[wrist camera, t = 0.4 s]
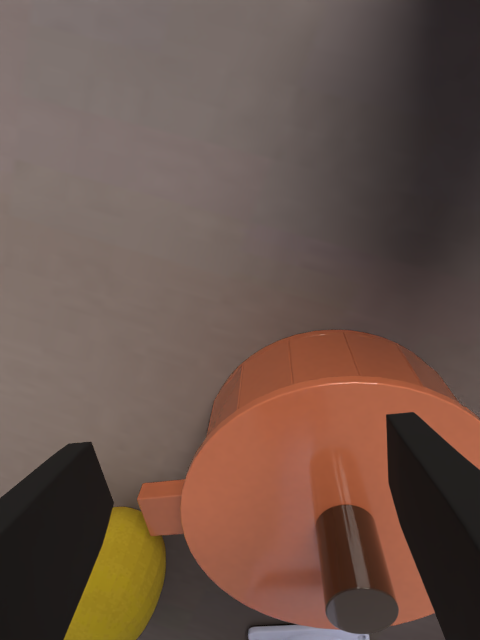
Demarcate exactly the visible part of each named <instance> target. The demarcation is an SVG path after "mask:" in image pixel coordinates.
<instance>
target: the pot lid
mask: <svg viewBox="0 0 480 640" xmlns="http://www.w3.org/2000/svg"><path fill="white" fill-rule="evenodd" d="M408 412H414V413H415V414H417V415H418V416H419V417H420V418H421V419H422V420H424V421H425V422H426V423H427V424H428V425H429V426H430V427H431V428H432V429H433V430H434V431H436V432H437V433H438V434H439V435H440V436H441V437H442V438H443V439H444V440H446V441H447V442H448V443H449V444H450V445H451V446H452V447H453V448H455V449H456V450H457V451H458V452H459V453H460V454H461V455H463V456H464V457H465V458H466V459H467V460H468V461H470V462H471V463H472V464H473V465H474V466H476V467H477V468H478V469H479V470H480V418H479V417H478V416H476V415H475V414H474V413H473V412H471V411H470V410H469V409H468V408H466V407H464V406H463V405H461V404H459V403H458V402H456V401H454V400H453V399H451V398H449V397H447V396H445V395H443V394H440V393H438V392H436V391H433V390H431V389H428V388H426V387H423V386H419V385H416V384H412V383H409V382H405V381H401V380H395V379H389V378H382V377H373V376H337V377H325V378H319V379H314V380H308V381H303V382H299V383H296V384H292V385H289V386H286V387H282V388H279V389H276V390H274V391H272V392H269V393H267V394H265V395H262V396H260V397H258V398H256V399H254V400H253V401H251V402H249V403H247V404H246V405H244V406H242V407H241V408H239V409H237V410H236V411H235V412H233V413H232V414H231V415H230V416H228V417H227V418H226V419H224V420H223V421H222V422H221V423H220V424H219V425H218V426H217V427H216V428H215V429H214V430H213V431H212V432H211V433H210V434H209V435H208V436H207V437H206V439H205V440H204V442H203V443H202V444H201V446H200V447H199V449H198V450H197V451H196V453H195V455H194V457H193V459H192V461H191V463H190V465H189V467H188V471H187V474H186V477H185V481H184V484H183V488H182V494H181V503H180V512H181V524H182V528H183V532H184V536H185V539H186V542H187V544H188V546H189V549H190V551H191V553H192V555H193V556H194V558H195V560H196V561H197V563H198V564H199V566H200V567H201V568H202V570H203V571H204V572H205V573H206V574H207V576H208V577H209V578H210V579H211V580H212V581H213V582H214V583H215V584H217V585H218V586H219V587H220V588H221V589H222V590H223V591H225V592H226V593H227V594H229V595H230V596H232V597H233V598H234V599H236V600H238V601H239V602H241V603H243V604H244V605H246V606H248V607H250V608H252V609H254V610H256V611H258V612H261V613H263V614H265V615H268V616H270V617H273V618H276V619H279V620H282V621H286V622H290V623H294V624H298V625H302V626H308V627H314V628H321V629H334V630H342V631H345V632H348V633H353V634H371V633H376V632H379V631H382V630H384V629H386V628H388V627H389V626H393V625H398V624H402V623H406V622H410V621H414V620H417V619H420V618H422V617H425V616H428V615H431V614H434V613H435V612H434V609H433V607H432V604H431V602H430V599H429V597H428V594H427V592H426V589H425V587H424V584H423V582H422V579H421V577H420V574H419V572H418V569H417V567H416V564H415V562H414V559H413V557H412V554H411V552H410V549H409V547H408V544H407V542H406V539H405V537H404V534H403V531H402V529H401V526H400V523H399V519H398V516H397V512H396V509H395V505H394V502H393V498H392V494H391V491H390V487H389V483H388V458H387V429H386V414H397V413H408Z"/></svg>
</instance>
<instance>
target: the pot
mask: <svg viewBox="0 0 480 640" xmlns="http://www.w3.org/2000/svg"><path fill="white" fill-rule="evenodd" d="M337 376H373V377H382V378H389V379H395V380H401V381H405V382H409V383H412V384H416V385H419V386H423V387H426V388H428V389H431V390H433V391H436V392H438V393H440V394H443V395H445V396H447V397H449V398H451V399H453V400H454V401H456V402H458V401H457V399H456V398H455V397H454V395H453V394H452V392H451V391H450V390H449V388H448V387H447V385H446V384H445V383H444V381H443V380H442V378H441V377H440V376H439V374H438V373H437V372H436V371H435V370H433V369H432V368H430V367H429V366H428V365H427V364H426V363H425V362H424V361H423V360H422V359H420V358H419V357H418V356H417V355H415V354H414V353H413V352H411V351H409V350H408V349H406V348H404V347H403V346H401V345H399V344H397V343H395V342H393V341H390V340H388V339H386V338H383V337H379V336H376V335H372V334H369V333H364V332H358V331H351V330H320V331H312V332H307V333H301V334H297V335H294V336H291V337H287V338H284V339H281V340H279V341H277V342H275V343H272V344H270V345H268V346H266V347H264V348H263V349H261V350H259V351H258V352H256V353H255V354H253V355H251V356H250V357H249V358H248V359H247V360H245V361H244V362H243V363H242V364H241V365H239V366H238V367H237V369H236V370H235V371H234V372H233V373H232V374H231V375H230V376H229V378H228V379H227V380H226V382H225V383H224V385H223V386H222V388H221V390H220V392H219V394H218V395H217V397H216V398H215V400H214V403H213V408H212V412H211V417H210V421H209V426H208V430H207V435H206V437H207V436H208V435H209V434H210V433H211V432H212V431H213V430H214V429H215V428H216V427H217V426H218V425H219V424H220V423H221V422H222V421H223V420H224V419H226V418H227V417H228V416H230V415H231V414H232V413H233V412H235V411H236V410H237V409H239V408H241V407H242V406H244V405H246V404H247V403H249V402H251V401H253V400H254V399H256V398H258V397H260V396H262V395H265V394H267V393H269V392H272V391H274V390H276V389H279V388H282V387H286V386H289V385H292V384H296V383H299V382H303V381H308V380H314V379H319V378H325V377H337ZM458 403H459V402H458ZM459 404H460V403H459ZM184 481H185V479H183V480H172V481H162V482H151V483H143V484H142V487H141V490H140V492H139V495H138V498H137V501H138V504H139V506H140V509H141V512H142V514H143V517H144V520H145V523H146V525H147V528H148V531H149V533H150V536H162V535H175V534H184V532H183V528H182V524H181V512H180V503H181V494H182V488H183V484H184Z"/></svg>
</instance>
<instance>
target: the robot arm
mask: <svg viewBox="0 0 480 640" xmlns="http://www.w3.org/2000/svg"><path fill="white" fill-rule="evenodd" d="M386 429H387V458H388V483H389V487H390V491H391V494H392V498H393V502H394V505H395V509H396V512H397V516H398V519H399V523H400V526H401V529H402V531H403V534H404V537H405V539H406V542H407V544H408V547H409V549H410V552H411V554H412V557H413V559H414V562H415V564H416V567H417V569H418V572H419V574H420V577H421V579H422V582H423V584H424V587H425V589H426V592H427V594H428V597H429V599H430V602H431V604H432V607H433V609H434V612H435V614H436V616H437V619H438V621H439V624H440V626H441V629H442V631H443V634H444V637H445V639H446V640H480V470H479V469H478V468H477V467H476V466H474V465H473V464H472V463H471V462H470V461H468V460H467V459H466V458H465V457H464V456H463V455H461V454H460V453H459V452H458V451H457V450H456V449H455V448H453V447H452V446H451V445H450V444H449V443H448V442H447V441H446V440H444V439H443V438H442V437H441V436H440V435H439V434H438V433H437V432H436V431H434V430H433V429H432V428H431V427H430V426H429V425H428V424H427V423H426V422H425V421H424V420H422V419H421V418H420V417H419V416H418V415H417V414H415V413H414V412H408V413H397V414H386ZM113 504H114V502H113V499H112V496H111V494H110V491H109V488H108V486H107V483H106V480H105V478H104V475H103V472H102V470H101V467H100V464H99V461H98V459H97V456H96V453H95V451H94V448H93V445H92V443H91V442H83V443H72V444H68V445H66V446H65V447H63V448H62V449H61V450H59V451H58V452H57V453H55V454H54V455H53V456H51V457H50V458H49V459H48V460H46V461H45V462H44V463H43V464H41V465H40V466H39V467H38V468H37V469H35V470H34V471H33V472H32V473H30V474H29V475H28V476H27V477H26V478H24V479H23V480H22V481H21V482H20V483H18V484H17V485H16V486H15V487H13V488H12V489H11V490H10V491H9V492H7V493H6V494H5V495H4V496H2V497H1V498H0V640H64V638H65V635H66V633H67V630H68V628H69V625H70V623H71V621H72V618H73V616H74V613H75V611H76V609H77V606H78V604H79V601H80V599H81V596H82V594H83V592H84V589H85V587H86V584H87V582H88V580H89V577H90V575H91V572H92V570H93V567H94V565H95V562H96V560H97V557H98V555H99V552H100V550H101V547H102V545H103V541H104V538H105V534H106V531H107V527H108V524H109V520H110V516H111V512H112V508H113ZM248 638H249V640H369V634H353V633H348V632H345V631H342V630H334V629H321V628H314V627H308V626H302V625H280V626H257V627H251V628H250V629H249V630H248Z"/></svg>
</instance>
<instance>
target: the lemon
mask: <svg viewBox="0 0 480 640" xmlns="http://www.w3.org/2000/svg"><path fill="white" fill-rule="evenodd" d="M165 571H166V552H165V544H164V541H163V538H162V536H150V533H149V531H148V528H147V525H146V523H145V520H144V517H143V514H142V512H141V511H139V510H136V509H133V508H129V507H113V508H112V512H111V516H110V520H109V524H108V527H107V531H106V534H105V538H104V541H103V545H102V547H101V550H100V552H99V555H98V557H97V560H96V562H95V565H94V567H93V570H92V572H91V575H90V577H89V580H88V582H87V584H86V587H85V589H84V592H83V594H82V596H81V599H80V601H79V604H78V606H77V609H76V611H75V613H74V616H73V618H72V621H71V623H70V625H69V628H68V630H67V633H66V635H65V638H64V640H136V639H137V638H138V637H139V636H140V634H141V633H142V632H143V630H144V629H145V627H146V625H147V624H148V622H149V620H150V618H151V616H152V614H153V612H154V610H155V607H156V605H157V602H158V599H159V596H160V593H161V590H162V587H163V583H164V578H165Z"/></svg>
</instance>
